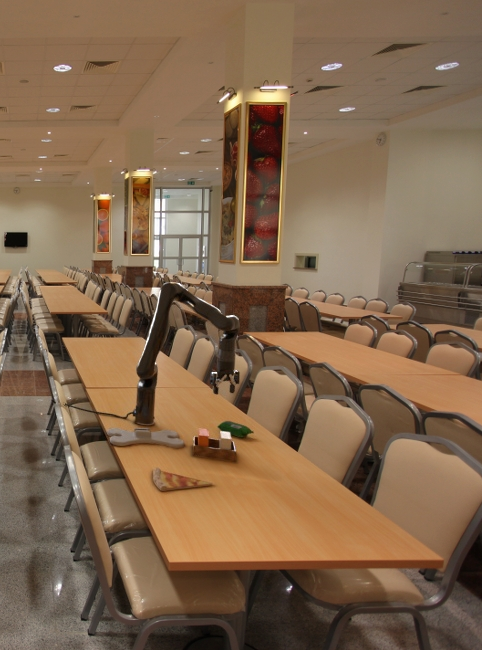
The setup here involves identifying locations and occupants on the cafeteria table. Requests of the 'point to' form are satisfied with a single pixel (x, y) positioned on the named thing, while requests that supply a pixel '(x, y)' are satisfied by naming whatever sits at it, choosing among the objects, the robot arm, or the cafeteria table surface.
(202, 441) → the block
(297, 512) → the cafeteria table surface
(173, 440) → the holder
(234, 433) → the snack package
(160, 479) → the pizza slice
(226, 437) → the block
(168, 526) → the cafeteria table surface
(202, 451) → the brown wooden tray
